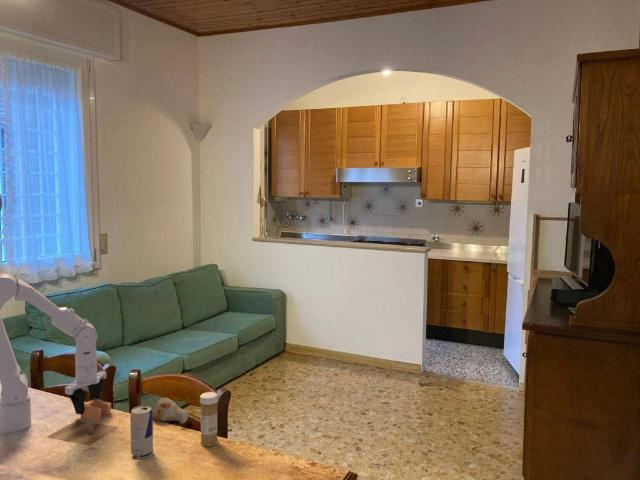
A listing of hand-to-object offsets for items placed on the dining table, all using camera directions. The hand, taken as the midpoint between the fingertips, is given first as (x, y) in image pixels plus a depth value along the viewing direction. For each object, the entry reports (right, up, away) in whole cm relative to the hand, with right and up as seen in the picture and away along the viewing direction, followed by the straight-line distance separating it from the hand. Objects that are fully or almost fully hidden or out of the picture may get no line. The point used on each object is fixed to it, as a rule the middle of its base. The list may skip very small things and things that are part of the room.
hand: (87, 409), depth 150 cm
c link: (+3, -2, -1) cm, 3 cm away
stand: (+4, -4, -12) cm, 13 cm away
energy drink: (+23, -5, -20) cm, 31 cm away
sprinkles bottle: (+39, -5, -14) cm, 42 cm away
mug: (+25, -4, -1) cm, 26 cm away
